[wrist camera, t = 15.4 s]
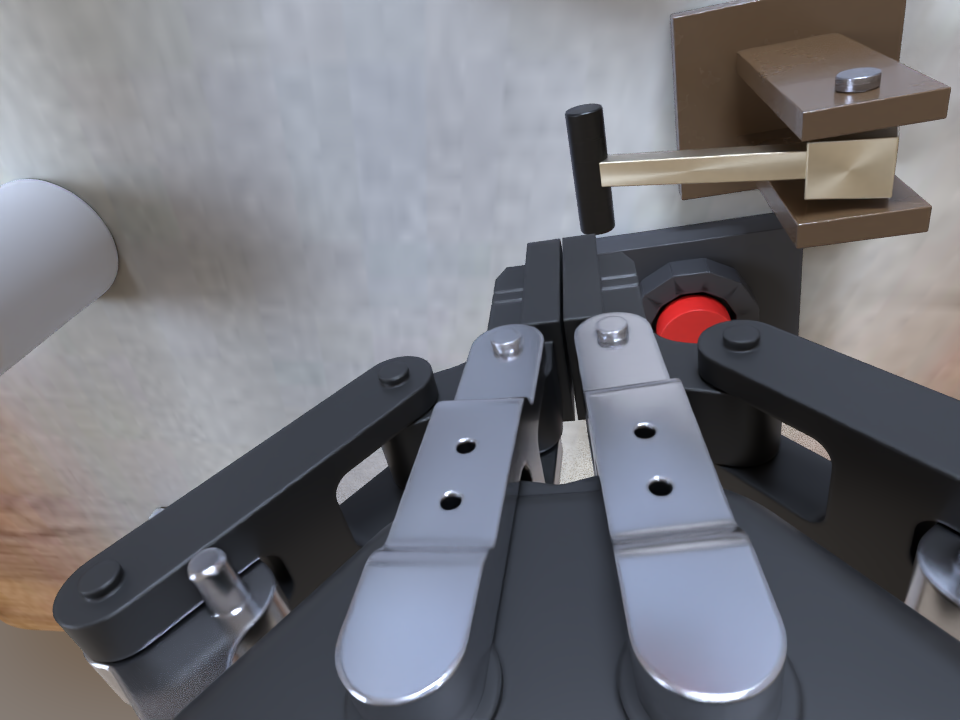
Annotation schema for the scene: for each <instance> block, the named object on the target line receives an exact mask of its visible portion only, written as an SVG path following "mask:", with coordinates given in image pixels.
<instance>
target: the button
mask: <svg viewBox="0 0 960 720" xmlns="http://www.w3.org/2000/svg"><path fill="white" fill-rule="evenodd" d="M725 321H731V318H730V316H729V313H728V311H727V309H726V308H725V306H724V305H723V304H722V303H720V302H719V301H718V300H716V299H714V298H712V297H709V296H706V295H688V296H684V297H681V298H678V299H676V300H674V301H673V302H671V303H670V304H668V305H667V306H666V307H665V308H664V309H663V311H662V312H661V314H660V315H659V317H658V320H657V324H656V333H657V335H659V336H661V337H663V338H666V339H669V340H673V341H677V342H686V343H697V342H698V338H699V336H700V334H701V333H702V332H703V331H704V330H706V329H707V328H709V327H711V326H713V325H715V324H718V323H721V322H725Z"/></svg>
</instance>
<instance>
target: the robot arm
mask: <svg viewBox="0 0 960 720" xmlns="http://www.w3.org/2000/svg"><path fill="white" fill-rule="evenodd" d="M574 395H575V402H576V408H577V415H578V420H585V419H586V424H587V432H588V439H589V446H590V452H591V458H592V464H593V470H594V476H593V477H590V478H586V479H582V480H578V481H575V482H571V483H567V484H560V475H561V465H562V456H563V447H562V442H561V435H562V431H563V422H564V421H575V408H574ZM782 422H783V423H785V424H787V425H789V426H791V427H793V428H795V429H797V430H799V431H801V432H803V433H804V434H806V435H808V436H810V437H812V438H814V439H815V440H817V441H818V442H819V443H820V444H821V445H822V446H823V447H824V448H825V449H826V451H827V452H828V454H829V456H830V459H831V461H829V460H828V459H826V458H824V457H822V456H820V455H818V454H816V453H815V452H813V451H811V450H809V449H807V448H805V447H803V446H802V445H800V444H798V443H796V442H794V441H792V440H790V439H789V438H787V437H785V436H783V435H781V426H782ZM380 447H382V450H383V452H384V455H385V458H386V460H387V463H388V467H387V468H386V469H384V470H383V471H382V472H381V473H379V474H378V475H377V476H376V477H374V478H373V479H372V480H371V481H369V482H368V483H367V484H366V485H364V486H363V487H362V488H360V489H359V490H358V491H357V492H355V493H354V494H353V495H352V496H350V497H349V498H348V499H347V500H345V501H344V502H343V503H342V504H340V505H339V504H338V502H337V499H336V490H337V487H338V484H339V482H340V480H341V479H342V478H343V476H344V475H345V474H346V473H348V472H349V471H350V470H351V469H353V468H354V467H355V466H357V465H358V464H359V463H361V462H362V461H363V460H364V459H366V458H367V457H368V456H370V455H371V454H372V453H374V452H375V451H376V450H377V449H379V448H380ZM53 616H54V618H55V620H56V622H57V623H58V624H59V625H60V626H61V627H62V628H63V629H64V631H65V632H66V633H67V634H68V635H69V636H70V637H71V638H72V639H73V641H74V642H75V643H76V644H77V645H78V646H79V647H80V648H81V649H82V651H83V654H84V657H85V658H86V660H87V661H88V662H89V663H90V664H91V665H92V667H93V668H94V669H95V670H96V671H97V672H98V673H99V674H100V675H101V677H102V678H103V679H104V680H105V681H106V682H107V683H108V684H109V685H110V686H111V688H112V689H113V690H114V691H115V692H116V693H117V694H118V695H119V696H120V698H121V699H122V700H123V701H125V702H126V703H127V704H129V705H131V706H132V707H133V709H134V711H135V712H136V714H137V716H138V717H139V719H140V720H960V401H959V400H957V399H954V398H952V397H949V396H947V395H944V394H942V393H939V392H937V391H934V390H932V389H929V388H927V387H924V386H922V385H919V384H917V383H914V382H912V381H909V380H907V379H904V378H902V377H899V376H897V375H894V374H892V373H889V372H887V371H884V370H882V369H879V368H877V367H874V366H872V365H869V364H867V363H864V362H862V361H859V360H857V359H854V358H852V357H849V356H847V355H844V354H842V353H839V352H837V351H834V350H832V349H829V348H827V347H824V346H822V345H819V344H817V343H814V342H812V341H809V340H807V339H804V338H802V337H799V336H797V335H794V334H792V333H789V332H787V331H784V330H782V329H779V328H777V327H774V326H772V325H769V324H766V323H763V322H759V321H753V320H731V321H725V322H721V323H718V324H715V325H713V326H711V327H709V328H707V329H706V330H704V331H703V332H702V333H701V334H700V336H699V338H698V342H697V343H686V342H677V341H673V340H669V339H666V338H663V337H661V336H659V335H657V334H656V333H654V332H653V330H652V327H651V325H650V323H649V322H648V321H647V320H646V317H645V312H644V307H643V302H642V297H641V292H640V287H639V282H638V278H637V273H636V268H635V263H634V261H633V260H632V259H631V258H629V257H628V256H627V255H625V254H624V253H623V252H617V253H610V254H602V255H598V253H597V244H596V235H595V234H588V235H581V236H574V237H567V238H563V252H562V246H561V241H560V239H553V240H546V241H539V242H532V243H528V244H527V252H526V263H525V265H522V266H515V267H507V268H506V269H505V270H504V271H503V272H502V273H501V274H500V276H499V277H498V278H497V279H496V281H495V287H494V295H493V299H492V305H491V311H490V317H489V323H488V329H487V331H486V332H485V333H483V334H481V335H480V336H479V337H478V338H477V339H476V340H475V341H474V342H473V344H472V346H471V349H470V352H469V355H468V358H467V361H466V362H465V363H463V364H460V365H458V366H455V367H453V368H450V369H446V370H443V371H440V372H437V373H433V371H432V368H431V365H430V364H429V363H428V362H427V361H426V360H424V359H422V358H419V357H413V356H404V357H397V358H393V359H389V360H386V361H384V362H382V363H379V364H377V365H376V366H374V367H373V368H371V369H370V370H368V371H367V372H365V373H364V374H362V375H361V376H359V377H358V378H356V379H355V380H353V381H352V382H350V383H349V384H348V385H346V386H345V387H343V388H342V389H340V390H339V391H337V392H336V393H334V394H333V395H331V396H330V397H328V398H327V399H325V400H324V401H323V402H321V403H320V404H318V405H317V406H315V407H314V408H312V409H311V410H309V411H308V412H306V413H305V414H303V415H302V416H301V417H299V418H298V419H296V420H295V421H293V422H292V423H290V424H289V425H287V426H286V427H284V428H283V429H281V430H280V431H278V432H277V433H276V434H274V435H273V436H271V437H270V438H268V439H267V440H265V441H264V442H262V443H261V444H259V445H258V446H256V447H255V448H254V449H252V450H251V451H249V452H248V453H246V454H245V455H243V456H242V457H240V458H239V459H237V460H236V461H234V462H233V463H231V464H230V465H229V466H227V467H226V468H224V469H223V470H221V471H220V472H218V473H217V474H215V475H214V476H212V477H211V478H209V479H208V480H207V481H205V482H204V483H202V484H201V485H199V486H198V487H196V488H195V489H193V490H192V491H190V492H189V493H187V494H186V495H184V496H183V497H182V498H180V499H179V500H177V501H176V502H174V503H173V504H171V505H170V506H168V507H167V508H165V509H164V510H162V511H161V512H160V513H158V514H157V515H155V516H154V517H152V518H151V519H149V520H148V521H146V522H145V523H143V524H142V525H140V526H139V527H138V528H136V529H135V530H133V531H132V532H130V533H129V534H127V535H126V536H124V537H123V538H121V539H120V540H118V541H117V542H115V543H114V544H113V545H111V546H110V547H108V548H107V549H105V550H104V551H102V552H101V553H99V554H98V555H96V556H95V557H93V558H92V559H91V560H89V561H88V562H86V563H85V564H84V565H82V566H81V567H80V568H79V569H77V570H76V571H75V572H74V573H73V574H72V575H71V576H70V577H69V578H68V579H67V581H66V582H65V583H64V584H63V586H62V587H61V589H60V590H59V592H58V594H57V596H56V598H55V600H54V604H53Z"/></svg>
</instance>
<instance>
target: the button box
mask: <svg viewBox="0 0 960 720" xmlns="http://www.w3.org/2000/svg"><path fill="white" fill-rule="evenodd" d="M596 244H597V253H598V255H602V254H610V253H617V252H623V253H624V254H625V255H627V256H628V257H629V258H631V259H632V260H633V261H634V263H635V268H636V273H637V278H638V282H639V287H640V292H641V297H642V302H643V307H644V312H645V317H646V320H647V321H648V322H649V323H650V325H651V327H652V330H653V332H654V333H656V324H657V320H658V317H659V315H660V314H661V312H662V311H663V309H664V308H665V307H666V306H667V305H668V304H670V303H671V302H673V301H674V300H676V299H678V298H681V297H684V296H688V295H706V296H709V297H712V298H714V299H716V300H718V301H719V302H720V303H722V304H723V305H724V306H725V308H726V309H727V311H728V313H729V316H730V318H731V320H753V321H759V322H763V323H766V324H769V325H772V326H774V327H777V328H779V329H782V330H784V331H787V332H789V333H792V334H794V335H797V336H798V332H799V314H800V295H801V276H802V258H803V248H800V249H797V248H796V246H795V245H794V243H793V242H792V240H791V239H790V237H789V235H788V234H787V232H786V231H785V229H784V228H783V226H782V224H781V223H780V221H779V220H778V218H777V217H776V215H775V213H771V214H764V215H757V216H750V217H743V218H736V219H729V220H722V221H715V222H708V223H701V224H694V225H687V226H680V227H673V228H666V229H659V230H652V231H645V232H638V233H631V234H624V235H617V236H610V237H603V238H596ZM656 334H657V333H656Z"/></svg>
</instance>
